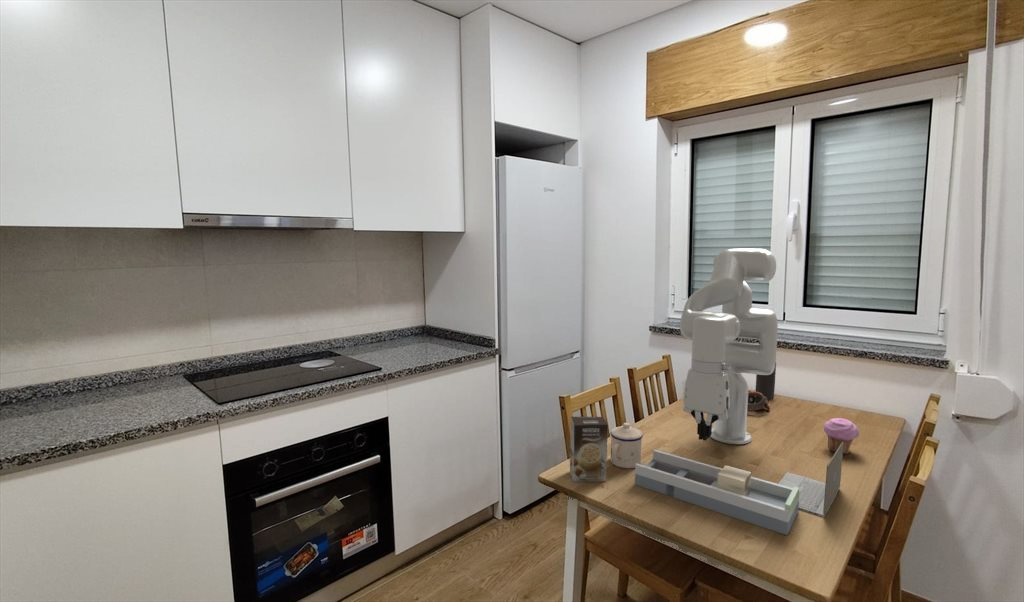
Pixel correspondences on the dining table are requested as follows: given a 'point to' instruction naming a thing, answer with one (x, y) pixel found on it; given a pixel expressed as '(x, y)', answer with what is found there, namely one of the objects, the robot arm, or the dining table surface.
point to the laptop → (817, 487)
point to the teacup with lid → (626, 446)
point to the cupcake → (840, 433)
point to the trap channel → (719, 491)
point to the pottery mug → (757, 401)
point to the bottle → (766, 384)
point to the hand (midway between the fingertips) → (704, 438)
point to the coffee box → (588, 449)
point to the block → (734, 480)
